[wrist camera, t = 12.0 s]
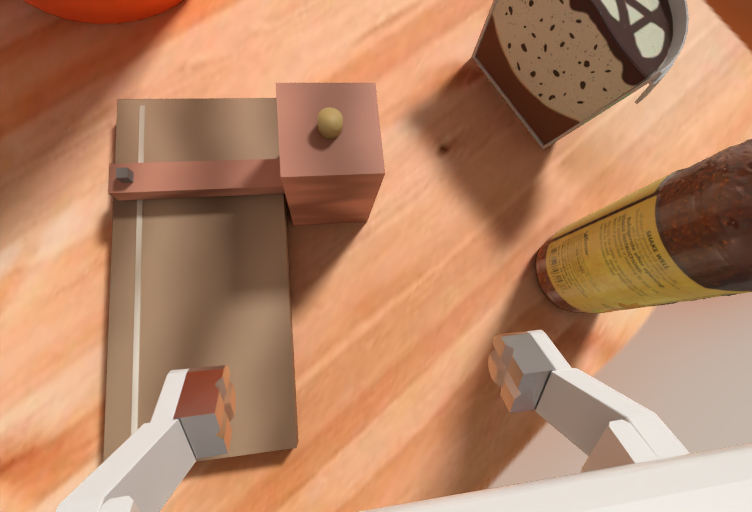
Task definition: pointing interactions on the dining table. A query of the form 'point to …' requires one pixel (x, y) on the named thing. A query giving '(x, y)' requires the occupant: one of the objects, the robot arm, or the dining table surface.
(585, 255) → the sauce bottle
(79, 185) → the dining table surface
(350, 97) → the latch lever with knob
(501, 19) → the food container
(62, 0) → the flowerpot
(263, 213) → the plank
